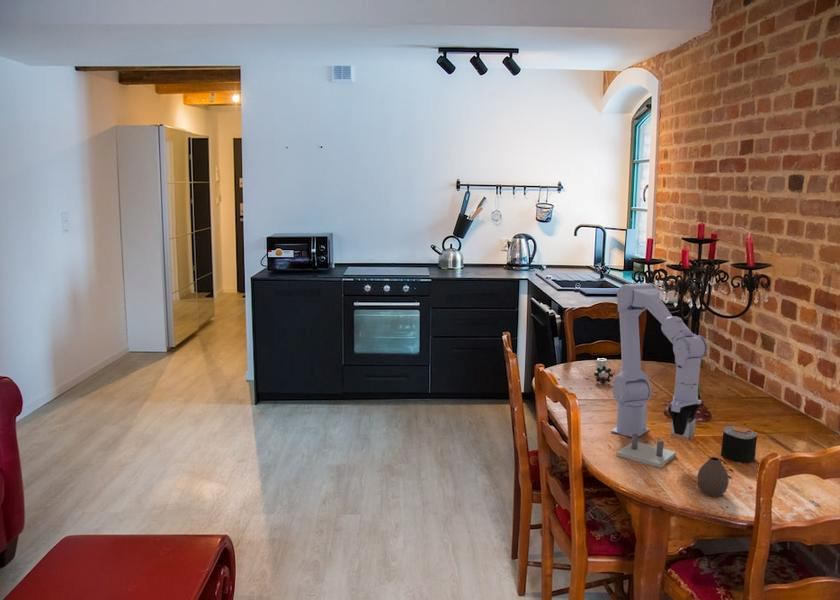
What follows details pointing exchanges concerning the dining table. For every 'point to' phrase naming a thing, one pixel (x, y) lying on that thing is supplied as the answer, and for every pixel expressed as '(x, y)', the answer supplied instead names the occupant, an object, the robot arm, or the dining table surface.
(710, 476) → the vase
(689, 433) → the sleeve
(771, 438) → the dining table surface
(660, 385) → the dining table surface
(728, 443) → the sushi
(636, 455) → the pin board
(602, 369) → the valve
